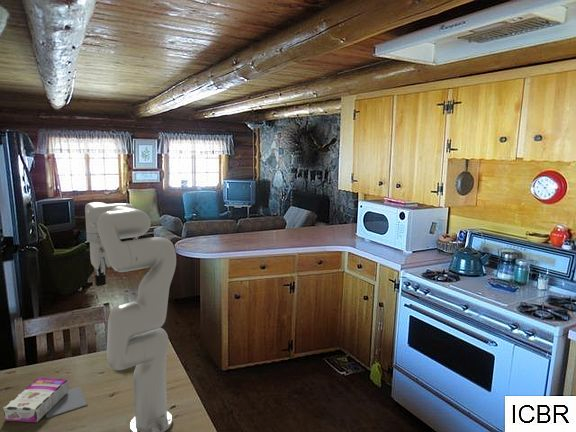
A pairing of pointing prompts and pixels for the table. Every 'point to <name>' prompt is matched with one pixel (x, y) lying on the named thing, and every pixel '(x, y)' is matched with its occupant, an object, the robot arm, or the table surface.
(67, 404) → the rubber mat
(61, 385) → the candy bar box
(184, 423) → the table surface
